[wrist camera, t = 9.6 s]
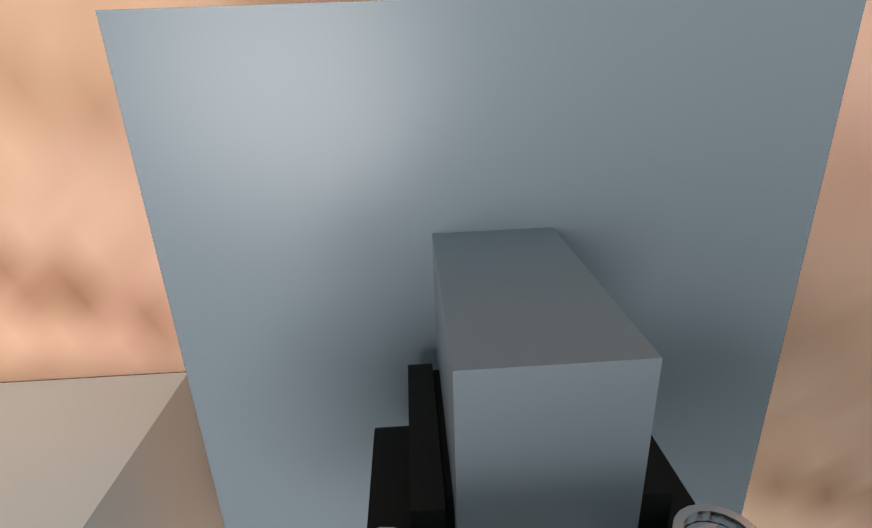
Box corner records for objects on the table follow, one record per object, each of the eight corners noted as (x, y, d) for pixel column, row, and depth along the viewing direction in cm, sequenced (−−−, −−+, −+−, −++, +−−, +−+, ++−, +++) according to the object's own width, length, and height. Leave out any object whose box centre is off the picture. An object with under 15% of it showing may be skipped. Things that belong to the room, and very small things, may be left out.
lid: (687, 557, 17) (848, 844, 11) (270, 589, 17) (191, 908, 11) (800, -7, 11) (1311, -79, 5) (143, 16, 11) (-231, -30, 4)
